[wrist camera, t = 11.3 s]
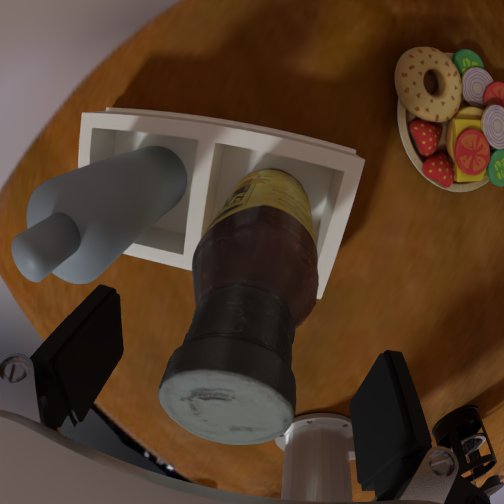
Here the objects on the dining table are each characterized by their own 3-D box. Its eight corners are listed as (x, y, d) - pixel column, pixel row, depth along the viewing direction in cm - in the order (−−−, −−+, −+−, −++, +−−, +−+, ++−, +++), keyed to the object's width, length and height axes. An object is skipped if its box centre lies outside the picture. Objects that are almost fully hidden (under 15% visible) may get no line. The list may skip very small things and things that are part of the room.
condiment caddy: (354, 148, 24) (455, 207, 8) (317, 273, 29) (336, 428, 14) (111, 107, 24) (-42, 128, 9) (104, 224, 29) (-12, 318, 14)
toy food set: (379, 46, 20) (391, 38, 17) (495, 58, 17) (513, 55, 14) (399, 193, 25) (412, 204, 22) (505, 185, 23) (523, 194, 20)
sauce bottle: (246, 155, 24) (122, 271, 6) (319, 180, 24) (392, 356, 6) (224, 227, 27) (119, 422, 9) (292, 250, 27) (286, 471, 9)
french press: (421, 428, 39) (445, 544, 18) (467, 397, 35) (506, 515, 15) (446, 441, 41) (469, 537, 20) (486, 414, 38) (518, 511, 17)
